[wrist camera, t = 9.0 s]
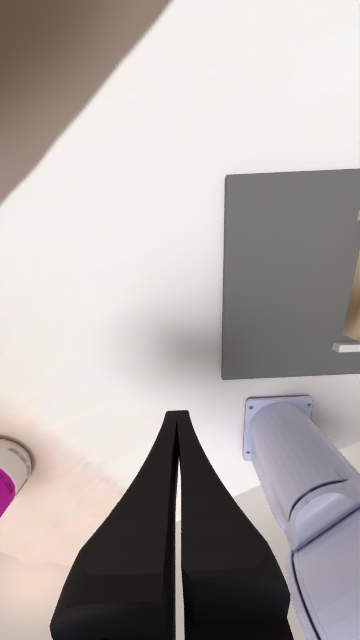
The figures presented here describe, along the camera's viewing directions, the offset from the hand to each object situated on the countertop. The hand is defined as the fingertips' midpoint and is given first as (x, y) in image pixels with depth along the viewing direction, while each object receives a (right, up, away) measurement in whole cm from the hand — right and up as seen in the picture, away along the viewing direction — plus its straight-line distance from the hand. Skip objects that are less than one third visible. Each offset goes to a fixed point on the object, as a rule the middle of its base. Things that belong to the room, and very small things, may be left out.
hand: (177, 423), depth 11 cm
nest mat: (+17, +10, +7) cm, 21 cm away
